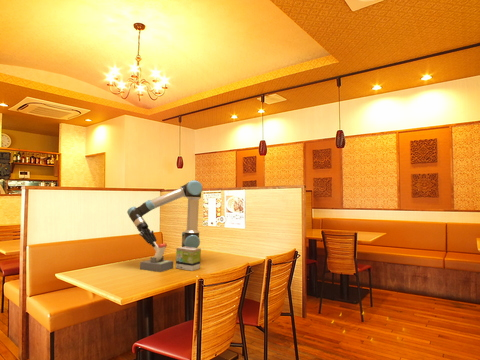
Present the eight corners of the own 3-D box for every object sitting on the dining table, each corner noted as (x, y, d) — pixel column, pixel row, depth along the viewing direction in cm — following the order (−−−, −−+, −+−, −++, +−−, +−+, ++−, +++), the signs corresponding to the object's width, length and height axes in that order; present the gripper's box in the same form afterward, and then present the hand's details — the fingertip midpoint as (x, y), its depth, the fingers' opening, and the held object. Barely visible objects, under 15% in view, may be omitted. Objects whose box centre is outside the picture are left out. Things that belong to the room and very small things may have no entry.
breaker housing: (140, 269, 214) (140, 257, 214) (153, 265, 227) (153, 254, 227) (160, 272, 206) (161, 259, 207) (173, 268, 219) (173, 256, 220)
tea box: (175, 268, 218) (175, 247, 219) (184, 266, 227) (184, 246, 227) (192, 271, 211) (192, 249, 212) (200, 268, 220) (201, 247, 220)
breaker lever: (152, 260, 215) (159, 243, 213) (158, 259, 220) (164, 242, 219) (155, 262, 214) (161, 245, 212) (160, 260, 219) (167, 244, 218)
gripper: (144, 227, 232) (160, 252, 223) (131, 228, 220) (148, 254, 211) (150, 221, 230) (166, 245, 221) (137, 221, 218) (154, 247, 210)
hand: (157, 250), depth 216 cm, fingers closed
